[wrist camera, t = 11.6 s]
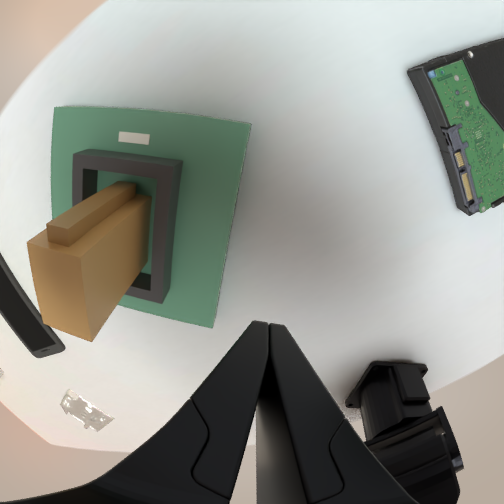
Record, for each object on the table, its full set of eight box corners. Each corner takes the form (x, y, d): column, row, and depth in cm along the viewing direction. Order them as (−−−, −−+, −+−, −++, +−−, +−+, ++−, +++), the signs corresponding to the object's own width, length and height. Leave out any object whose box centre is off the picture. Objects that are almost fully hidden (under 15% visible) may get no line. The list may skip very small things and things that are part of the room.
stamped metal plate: (71, 385, 30) (66, 393, 29) (115, 415, 32) (112, 423, 31) (60, 403, 33) (56, 410, 32) (98, 429, 35) (95, 436, 34)
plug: (147, 261, 19) (92, 342, 12) (108, 252, 19) (43, 323, 12) (153, 183, 17) (79, 238, 10) (109, 176, 17) (24, 224, 10)
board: (215, 318, 22) (208, 345, 20) (67, 279, 22) (49, 299, 19) (251, 123, 16) (247, 126, 14) (64, 106, 16) (37, 109, 13)
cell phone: (-6, 236, 21) (-11, 240, 21) (69, 346, 27) (66, 351, 26) (-27, 262, 23) (-31, 265, 22) (39, 355, 28) (36, 359, 28)
